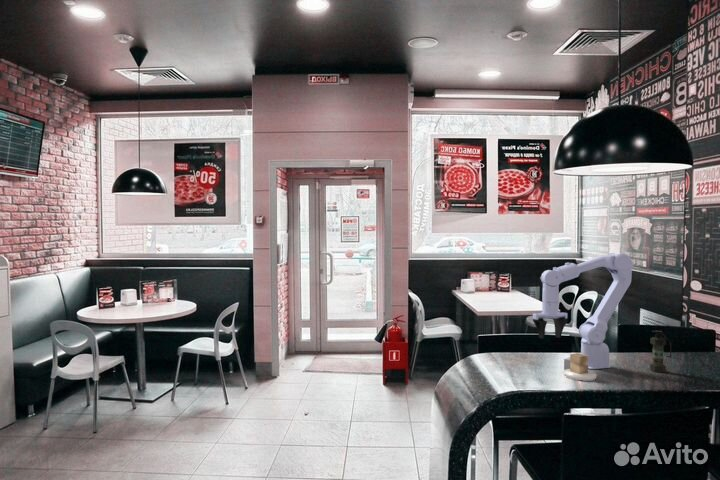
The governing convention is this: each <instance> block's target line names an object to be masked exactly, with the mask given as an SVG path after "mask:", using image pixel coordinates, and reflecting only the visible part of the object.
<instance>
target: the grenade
mask: <svg viewBox="0 0 720 480" xmlns="http://www.w3.org/2000/svg"><path fill="white" fill-rule="evenodd" d="M651 332H652V334H653V333H654V337H653V336H652V337H650V339H649V340H650V341H649V343H650V344H651V345H652V363H651V364H649V370H650V371H652V372H655V373H665V372H666V370H667V366H666V365H665V364H664V359H665V358H664V357H666V358H672V341H671V340H670V338H668V337H667V336H666V334H665V333H664V332H663V331H662V329H660V330H651ZM667 342H668V345H670V346H669V350H670V351H669V356H668V355H665V356H664V347H665V346H666V345H667Z"/></svg>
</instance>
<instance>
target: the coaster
mask: <svg viewBox="0 0 720 480" xmlns="http://www.w3.org/2000/svg"><path fill="white" fill-rule="evenodd" d="M563 374H564V377H565V376H566V378H567V377H568V379H569V380H574V381H579V380H583V381H582V382H593V380H594V381H596V380H597V373H596V372H594V371H591V370H588V373H585V374H577V373H574V372H571V371H570V369H566V370H564V373H563ZM595 379H596V380H595Z"/></svg>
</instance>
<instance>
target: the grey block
mask: <svg viewBox="0 0 720 480" xmlns="http://www.w3.org/2000/svg"><path fill="white" fill-rule="evenodd" d="M566 369H570V357H567V358H563V370H564V371H565V370H566Z"/></svg>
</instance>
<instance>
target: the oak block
mask: <svg viewBox="0 0 720 480" xmlns="http://www.w3.org/2000/svg"><path fill="white" fill-rule="evenodd" d="M569 358H570V371H571V372H574V373H577V374H585V373H588V371H589V368H588V356H587V355H584V354H581V352H580V353H579V352H577V353H576V352H575V353H570V355H569Z"/></svg>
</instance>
